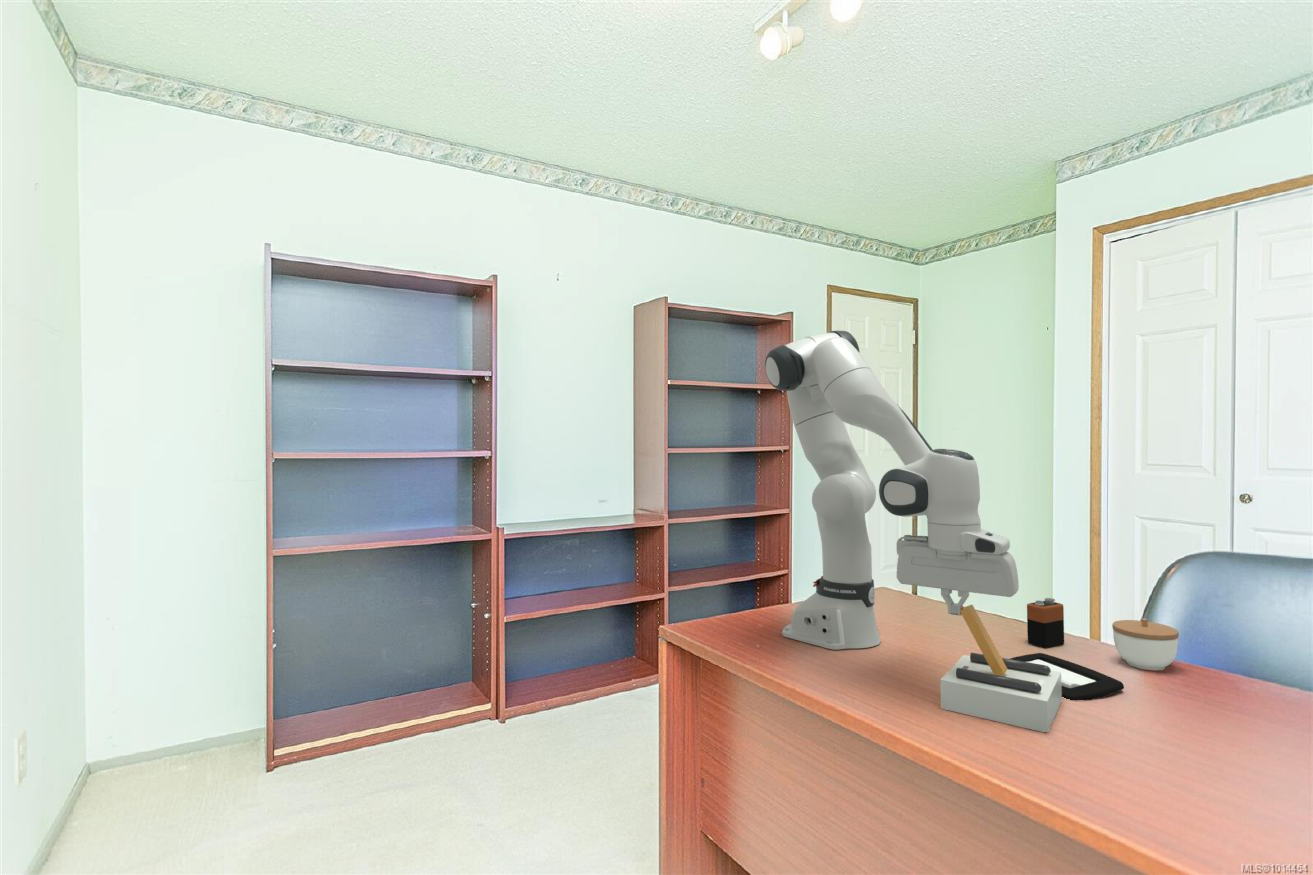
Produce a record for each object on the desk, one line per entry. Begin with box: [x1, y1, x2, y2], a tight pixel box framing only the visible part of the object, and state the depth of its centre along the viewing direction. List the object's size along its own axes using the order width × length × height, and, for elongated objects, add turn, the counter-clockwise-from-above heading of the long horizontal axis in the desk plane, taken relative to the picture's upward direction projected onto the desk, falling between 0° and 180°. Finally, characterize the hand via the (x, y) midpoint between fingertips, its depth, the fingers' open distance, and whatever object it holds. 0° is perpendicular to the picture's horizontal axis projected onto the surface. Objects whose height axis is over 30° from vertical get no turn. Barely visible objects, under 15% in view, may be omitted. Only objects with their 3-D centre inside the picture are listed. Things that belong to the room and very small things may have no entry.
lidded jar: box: [1111, 618, 1180, 672], centre depth 131 cm, size 11×11×9 cm
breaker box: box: [939, 652, 1063, 734], centre depth 113 cm, size 16×16×7 cm
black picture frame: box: [1009, 652, 1125, 701], centre depth 125 cm, size 20×3×14 cm
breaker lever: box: [960, 604, 1007, 676], centre depth 115 cm, size 2×3×12 cm, turn 141°
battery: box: [1026, 597, 1065, 649], centre depth 146 cm, size 4×7×10 cm, turn 113°
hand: (955, 614), depth 118 cm, fingers closed
